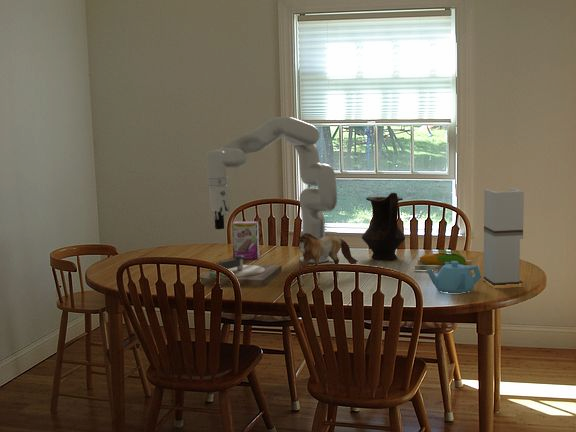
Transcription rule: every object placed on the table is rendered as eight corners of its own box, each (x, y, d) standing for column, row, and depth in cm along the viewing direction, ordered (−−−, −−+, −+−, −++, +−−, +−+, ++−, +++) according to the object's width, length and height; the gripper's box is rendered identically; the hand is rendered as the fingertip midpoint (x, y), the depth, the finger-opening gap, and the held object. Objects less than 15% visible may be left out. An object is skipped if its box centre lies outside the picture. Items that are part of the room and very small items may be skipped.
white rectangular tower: (522, 287, 291) (523, 191, 286) (493, 288, 291) (494, 192, 285) (510, 279, 303) (512, 187, 297) (483, 281, 302) (484, 188, 296)
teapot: (463, 298, 279) (463, 268, 277) (425, 292, 288) (425, 263, 286) (483, 289, 290) (483, 260, 289) (445, 283, 300) (446, 255, 298)
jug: (355, 257, 353) (354, 189, 348) (393, 253, 358) (393, 186, 354) (375, 266, 333) (374, 194, 328) (415, 262, 338) (415, 191, 334)
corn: (462, 253, 315) (415, 249, 326) (461, 273, 316) (414, 268, 327) (469, 251, 322) (422, 247, 333) (468, 270, 322) (422, 265, 333)
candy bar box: (233, 259, 355) (231, 223, 352) (234, 257, 360) (233, 221, 357) (258, 259, 353) (256, 222, 351) (259, 257, 358) (258, 221, 356)
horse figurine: (303, 290, 297) (301, 235, 294) (288, 286, 303) (287, 233, 299) (359, 275, 318) (358, 224, 315) (344, 272, 323) (343, 222, 320)
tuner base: (281, 271, 329) (281, 262, 328) (263, 286, 304) (263, 277, 303) (219, 269, 336) (219, 260, 335) (196, 284, 311) (196, 274, 310)
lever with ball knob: (240, 268, 322) (239, 254, 321) (246, 269, 319) (245, 255, 319) (217, 273, 313) (217, 259, 312) (224, 274, 311) (223, 260, 310)
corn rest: (472, 266, 327) (472, 260, 327) (471, 272, 316) (471, 266, 316) (417, 264, 333) (417, 259, 333) (414, 271, 322) (414, 265, 321)
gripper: (234, 183, 305) (236, 230, 308) (219, 179, 319) (221, 225, 321) (215, 184, 302) (218, 232, 305) (201, 181, 315) (203, 227, 318)
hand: (219, 228), depth 313 cm, fingers closed
